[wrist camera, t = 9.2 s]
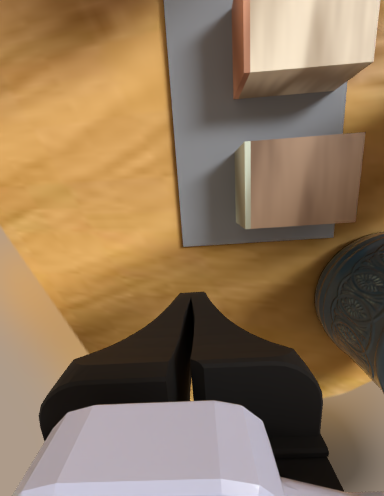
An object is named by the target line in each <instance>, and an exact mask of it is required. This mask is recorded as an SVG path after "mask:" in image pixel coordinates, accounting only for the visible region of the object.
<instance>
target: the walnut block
mask: <svg viewBox="0 0 384 496" xmlns="http://www.w3.org/2000/svg"><path fill="white" fill-rule="evenodd" d="M365 133H366V132H361V133H348V134H335V135H322V136H310V137H297V138H284V139H271V140H258V141H245V142H244V143H243V144H242V145H241V146H240V147H239V148H238V149H237V150H236V151H235V152H234V154H235V205H236V223H237V224H239V225H240V226H242V227H243V228H244V229H257V228H272V227H288V226H303V225H319V224H334V223H350V222H356V214H357V205H358V196H359V187H360V178H361V169H362V160H363V151H364V142H365Z"/></svg>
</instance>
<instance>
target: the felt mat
mask: <svg viewBox="0 0 384 496" xmlns="http://www.w3.org/2000/svg"><path fill="white" fill-rule="evenodd" d="M232 3H233V0H164V12H165V25H166V38H167V50H168V63H169V75H170V88H171V100H172V113H173V125H174V138H175V150H176V163H177V175H178V188H179V200H180V213H181V225H182V238H183V247H189V246H205V245H221V244H237V243H253V242H269V241H285V240H301V239H317V238H333V237H334V226H335V223H334V224H319V225H303V226H288V227H272V228H257V229H244V228H243V227H242V226H240V225H239V224H237V223H236V205H235V154H234V152H235V151H236V150H237V149H238V148H239V147H240V146H241V145H242V144H243V143H244V142H245V141H258V140H271V139H284V138H297V137H310V136H322V135H335V134H343V125H344V113H345V102H346V91H347V82H345V83H344V84H343V85H341V86H340V87H339V88H337V89H336V90H335V91H327V92H315V93H303V94H292V95H280V96H268V97H256V98H244V99H233V54H232Z"/></svg>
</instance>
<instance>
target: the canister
mask: <svg viewBox="0 0 384 496" xmlns="http://www.w3.org/2000/svg"><path fill="white" fill-rule="evenodd" d="M315 308H316V313H317V316H318V318H319V320H320V322H321V324H322V326H323V328H324V330H325V332H326V333H327V335H328V336H329V337H330V339H331V340H332V341H333V342H334V343H335V344H336V345H337V346H338V347H339V348H340V349H341V350H342V351H343V352H345V353H346V354H347V355H349V356H350V357H351V358H352V359H353V360H354V361H355V363H356V364H357V365H358V366H359V367H360V368H361V369H362V370H363V371H364V372H365V373H366V374H367V375H368V376H369V377H370V378H371V379H372V381H373V382H374V383H375V384H376V385H377V386H378V387H379V388H380V389H381V390H382V392H383V393H384V232H379V233H374V234H371V235H367V236H365V237H362V238H360V239H358V240H356V241H354V242H352V243H350V244H349V245H347V246H346V247H344V248H343V249H342V250H341V251H339V252H338V253H337V254H336V255H335V256H334V257H333V258H332V259H331V261H330V262H329V263H328V264H327V266H326V267H325V269H324V270H323V272H322V274H321V276H320V278H319V281H318V284H317V287H316V292H315Z"/></svg>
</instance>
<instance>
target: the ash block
mask: <svg viewBox="0 0 384 496" xmlns="http://www.w3.org/2000/svg"><path fill="white" fill-rule="evenodd" d="M379 7H380V0H233V3H232V54H233V99H244V98H256V97H268V96H280V95H292V94H303V93H315V92H327V91H335V90H336V89H337V88H339V87H340V86H341V85H343V84H344V83H345V82H347V81H348V80H349V79H351V78H352V77H353V76H355V75H356V74H357V73H359V72H360V71H361V70H363V69H364V68H366V67H367V66H368V65H370V64H371V63H372V62H373V61H374V52H375V43H376V34H377V25H378V16H379Z"/></svg>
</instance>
